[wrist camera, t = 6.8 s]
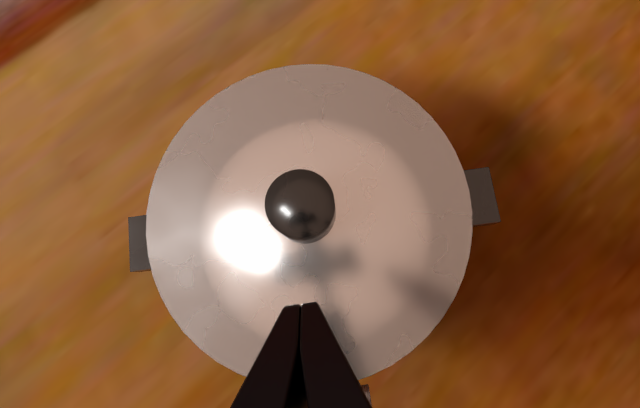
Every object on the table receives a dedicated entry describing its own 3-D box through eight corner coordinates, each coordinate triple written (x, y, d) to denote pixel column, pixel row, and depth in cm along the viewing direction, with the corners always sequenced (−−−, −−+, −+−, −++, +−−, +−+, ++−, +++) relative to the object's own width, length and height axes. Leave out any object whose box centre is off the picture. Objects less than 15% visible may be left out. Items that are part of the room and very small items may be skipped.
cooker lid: (502, 388, 14) (541, 415, 12) (165, 429, 15) (122, 464, 12) (433, 55, 17) (450, 10, 14) (150, 97, 18) (113, 62, 15)
